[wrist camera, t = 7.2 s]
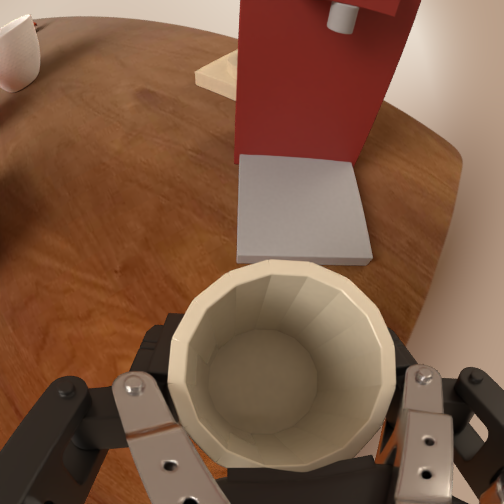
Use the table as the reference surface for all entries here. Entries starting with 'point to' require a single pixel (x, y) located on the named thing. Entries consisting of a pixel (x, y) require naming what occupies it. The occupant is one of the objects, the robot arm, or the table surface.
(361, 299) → the cream cup
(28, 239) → the table surface
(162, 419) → the robot arm
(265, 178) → the coffee maker
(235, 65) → the brew pad
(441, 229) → the table surface
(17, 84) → the mug
